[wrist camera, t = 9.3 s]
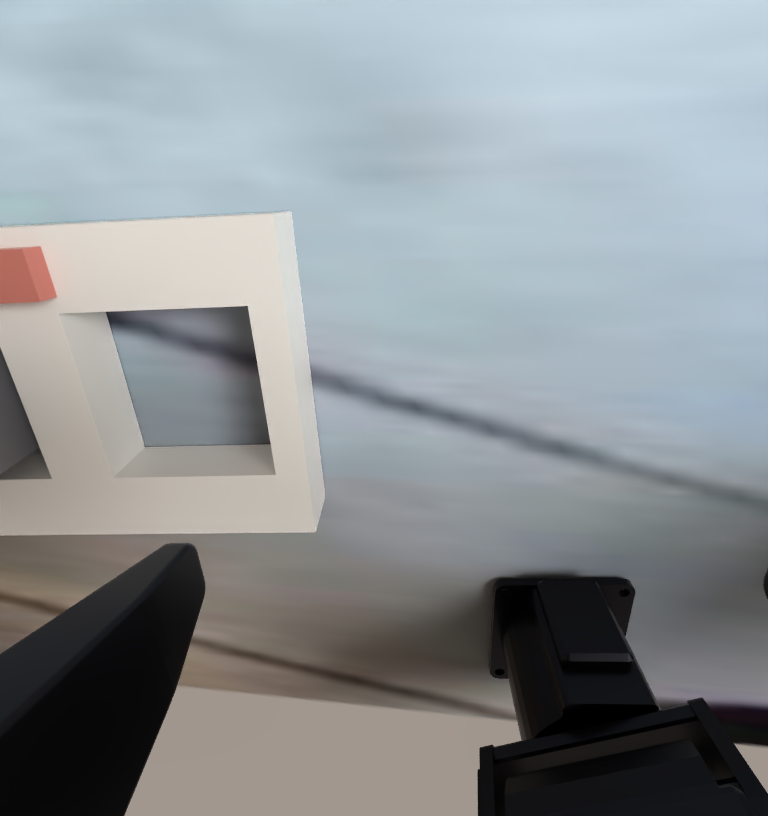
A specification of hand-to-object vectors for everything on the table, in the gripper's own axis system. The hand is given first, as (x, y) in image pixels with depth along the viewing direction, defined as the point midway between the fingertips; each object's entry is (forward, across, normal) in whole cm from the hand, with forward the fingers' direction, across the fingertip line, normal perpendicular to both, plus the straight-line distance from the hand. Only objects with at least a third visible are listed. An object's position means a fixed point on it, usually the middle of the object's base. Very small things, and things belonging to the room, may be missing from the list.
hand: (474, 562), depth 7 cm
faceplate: (+12, +14, +1) cm, 18 cm away
